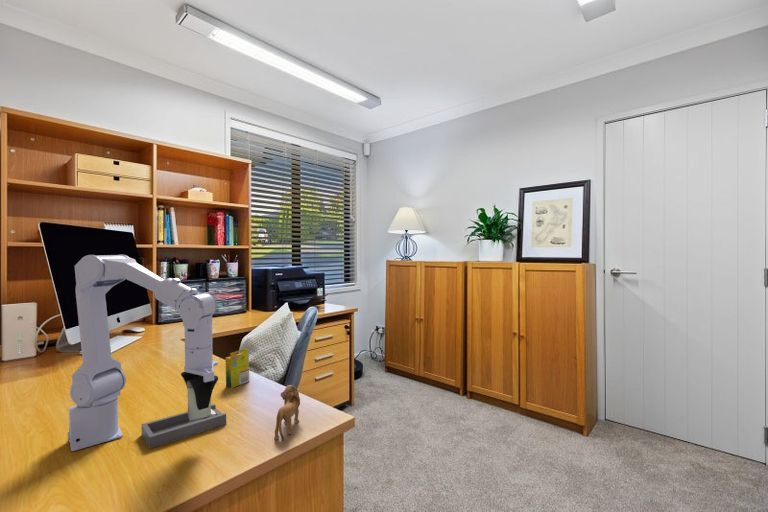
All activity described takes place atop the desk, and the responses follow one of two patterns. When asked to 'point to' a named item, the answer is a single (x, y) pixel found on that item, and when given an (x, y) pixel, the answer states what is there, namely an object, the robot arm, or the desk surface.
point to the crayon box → (237, 368)
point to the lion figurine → (288, 410)
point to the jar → (195, 405)
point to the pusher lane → (178, 427)
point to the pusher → (204, 417)
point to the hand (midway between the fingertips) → (199, 404)
